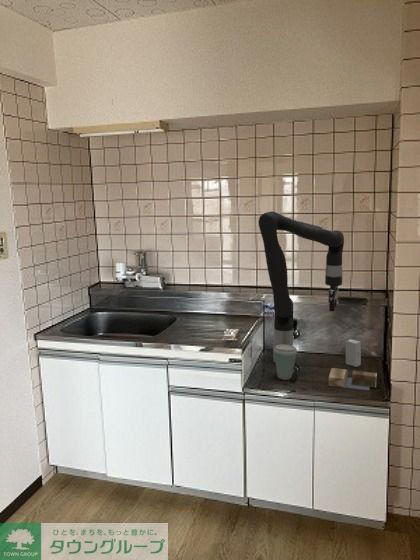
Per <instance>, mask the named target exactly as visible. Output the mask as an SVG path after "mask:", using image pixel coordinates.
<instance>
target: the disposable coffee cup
mask: <svg viewBox="0 0 420 560" xmlns="http://www.w3.org/2000/svg"><path fill="white" fill-rule="evenodd" d="M274 353H275V361H276V363H275V369H276V376H277V378H278V379H279V380H282V381H283V380H285V381H287V380H291V378H292V376H293V374H294V373H293V372H294V368H295V362H296V357H297V353H298V350H297V347H296V346H294V345H293V346H292V345H283V344H282V345H277V346H275V348H274Z"/></svg>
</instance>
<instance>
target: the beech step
mask: <svg viewBox="0 0 420 560" xmlns="http://www.w3.org/2000/svg"><path fill="white" fill-rule="evenodd" d="M348 370H349V369H348V368H347V369H344V368H337V367H332V368H331V369H330V373H329V376H328V387H329V386H330V387H337V388H345V385H346V381H347V377H348V372H349V371H348Z"/></svg>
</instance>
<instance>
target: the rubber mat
mask: <svg viewBox="0 0 420 560" xmlns="http://www.w3.org/2000/svg"><path fill="white" fill-rule="evenodd" d="M345 388H346V389H350V390H351V389H352V390H360V391H368V392H370V388H371V387H367V386H359V385H352V377H348V376H347V381H346V385H345Z"/></svg>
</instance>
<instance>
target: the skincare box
mask: <svg viewBox="0 0 420 560" xmlns="http://www.w3.org/2000/svg"><path fill="white" fill-rule="evenodd" d="M361 350H362V342H361V341H360V340H355V339H351V338H350V339H347V340H345V364H346V365H347V366H351V367H355V368H357V367H360V366H361V365H362V363H361V359H362V358H361V357H362V355H361V354H362V353H361V352H362V351H361Z"/></svg>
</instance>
